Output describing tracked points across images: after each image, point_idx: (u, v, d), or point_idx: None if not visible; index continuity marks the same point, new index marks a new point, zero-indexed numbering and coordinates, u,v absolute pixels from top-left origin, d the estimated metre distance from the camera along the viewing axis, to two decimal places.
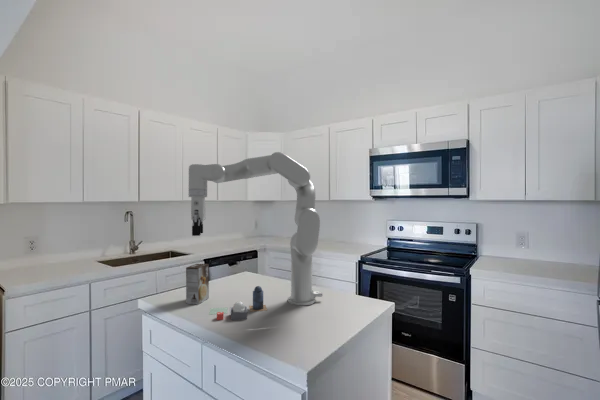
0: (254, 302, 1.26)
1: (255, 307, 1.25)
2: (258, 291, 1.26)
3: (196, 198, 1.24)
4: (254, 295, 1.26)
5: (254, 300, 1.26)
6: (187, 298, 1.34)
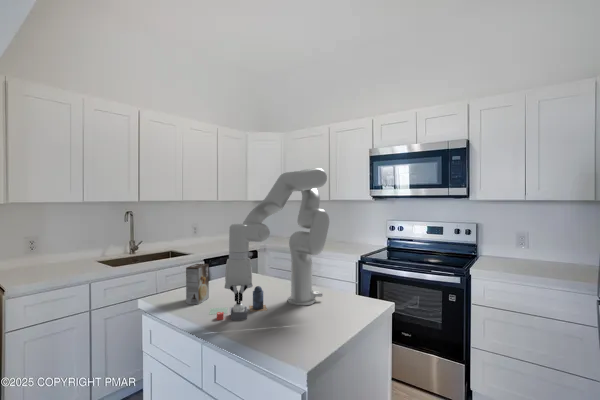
0: (254, 302, 1.26)
1: (255, 307, 1.25)
2: (258, 291, 1.26)
3: (250, 260, 1.19)
4: (254, 295, 1.26)
5: (254, 300, 1.26)
6: (187, 298, 1.34)
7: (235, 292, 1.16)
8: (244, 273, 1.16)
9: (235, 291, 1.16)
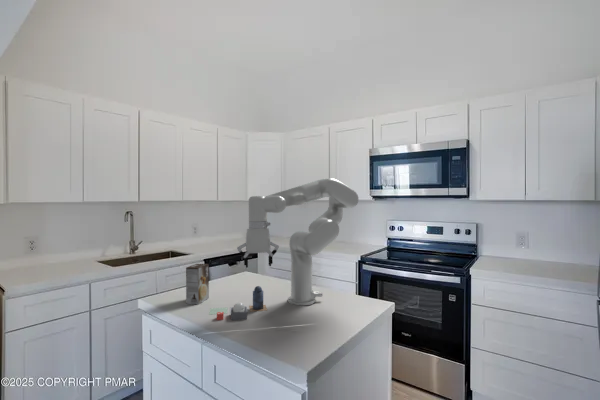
0: (254, 302, 1.26)
1: (255, 307, 1.25)
2: (258, 291, 1.26)
3: (268, 230, 1.28)
4: (254, 295, 1.26)
5: (254, 300, 1.26)
6: (187, 298, 1.34)
7: (245, 256, 1.25)
8: (263, 241, 1.26)
9: (244, 255, 1.25)
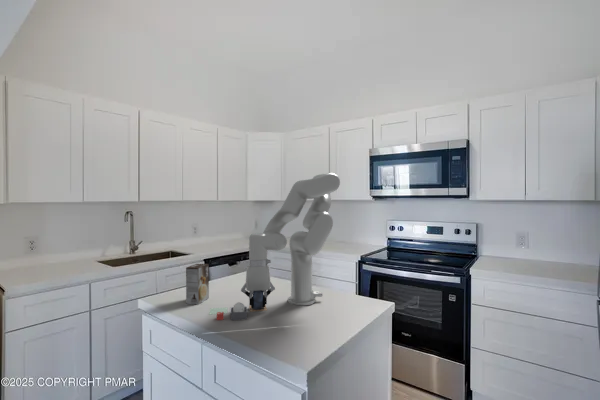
0: (254, 302, 1.26)
1: (255, 307, 1.25)
2: (258, 291, 1.26)
3: (268, 267, 1.28)
4: (254, 295, 1.26)
5: (254, 300, 1.26)
6: (187, 298, 1.34)
7: (250, 297, 1.26)
8: (263, 279, 1.26)
9: (250, 296, 1.26)
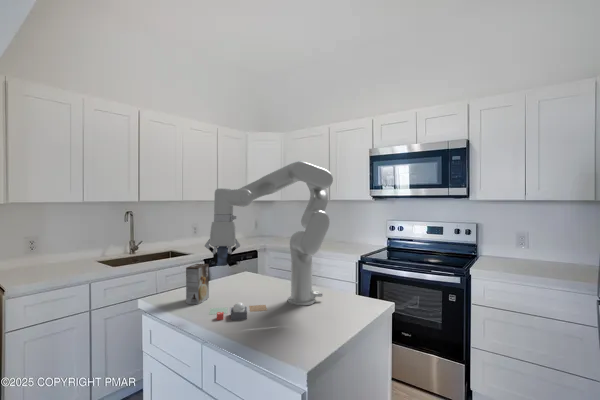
0: (218, 258, 1.23)
1: (219, 263, 1.22)
2: (222, 247, 1.23)
3: (234, 223, 1.26)
4: (218, 250, 1.23)
5: (218, 256, 1.23)
6: (187, 298, 1.34)
7: (214, 252, 1.23)
8: (228, 235, 1.23)
9: (214, 251, 1.23)
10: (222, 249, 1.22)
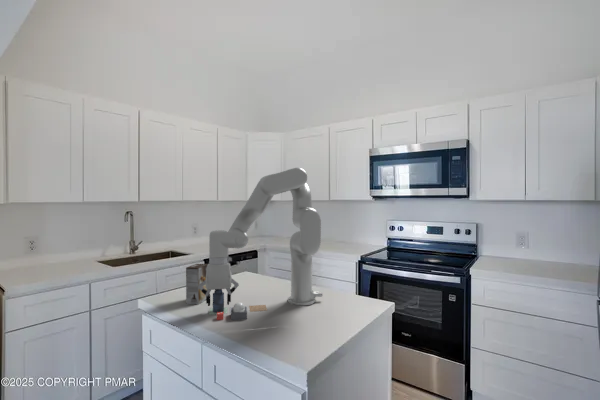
0: (214, 304, 1.22)
1: (215, 309, 1.22)
2: (218, 293, 1.23)
3: (230, 265, 1.25)
4: (213, 297, 1.23)
5: (214, 302, 1.22)
6: (187, 298, 1.34)
7: (206, 295, 1.22)
8: (223, 277, 1.22)
9: (206, 294, 1.22)
10: (218, 295, 1.22)
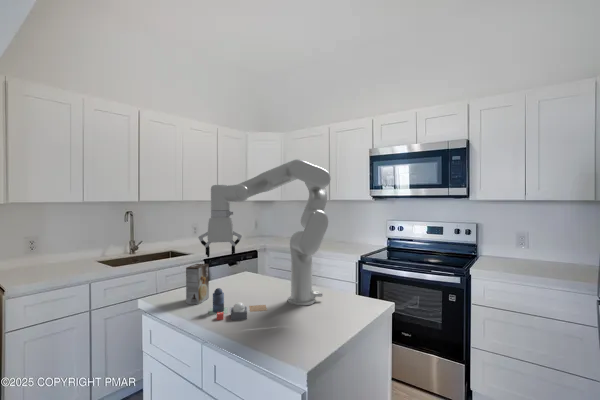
0: (214, 305, 1.22)
1: (215, 310, 1.22)
2: (218, 293, 1.23)
3: (231, 219, 1.27)
4: (214, 297, 1.22)
5: (214, 303, 1.22)
6: (187, 298, 1.34)
7: (206, 246, 1.23)
8: (225, 230, 1.24)
9: (206, 245, 1.23)
10: (218, 296, 1.22)
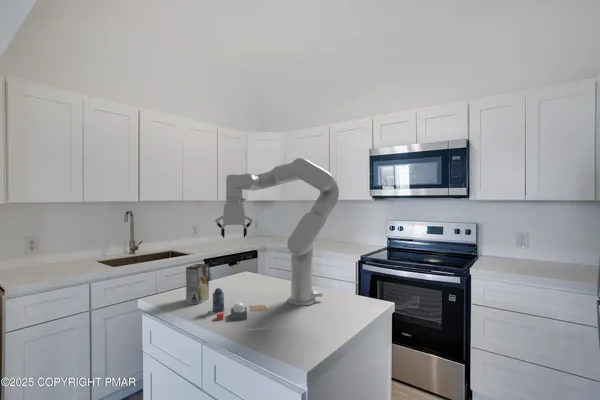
0: (214, 305, 1.22)
1: (215, 310, 1.22)
2: (218, 293, 1.23)
3: (243, 205, 1.44)
4: (214, 297, 1.22)
5: (214, 303, 1.22)
6: (187, 298, 1.34)
7: (221, 228, 1.41)
8: (238, 214, 1.41)
9: (221, 227, 1.41)
10: (218, 296, 1.22)
